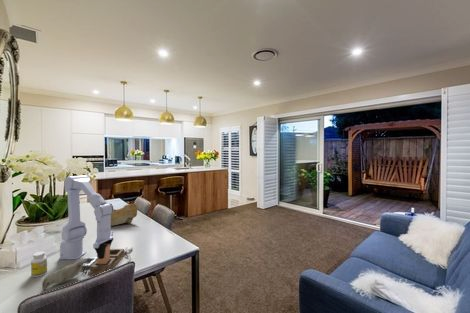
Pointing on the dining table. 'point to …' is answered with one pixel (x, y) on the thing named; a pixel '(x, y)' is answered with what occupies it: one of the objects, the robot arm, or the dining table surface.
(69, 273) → the decorative bird
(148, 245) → the dining table surface
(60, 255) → the robot arm
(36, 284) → the dining table surface
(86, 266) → the socket
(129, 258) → the pliers
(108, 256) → the peg
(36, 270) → the supplement bottle
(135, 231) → the dining table surface
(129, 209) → the rough brown rock
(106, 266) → the rack
